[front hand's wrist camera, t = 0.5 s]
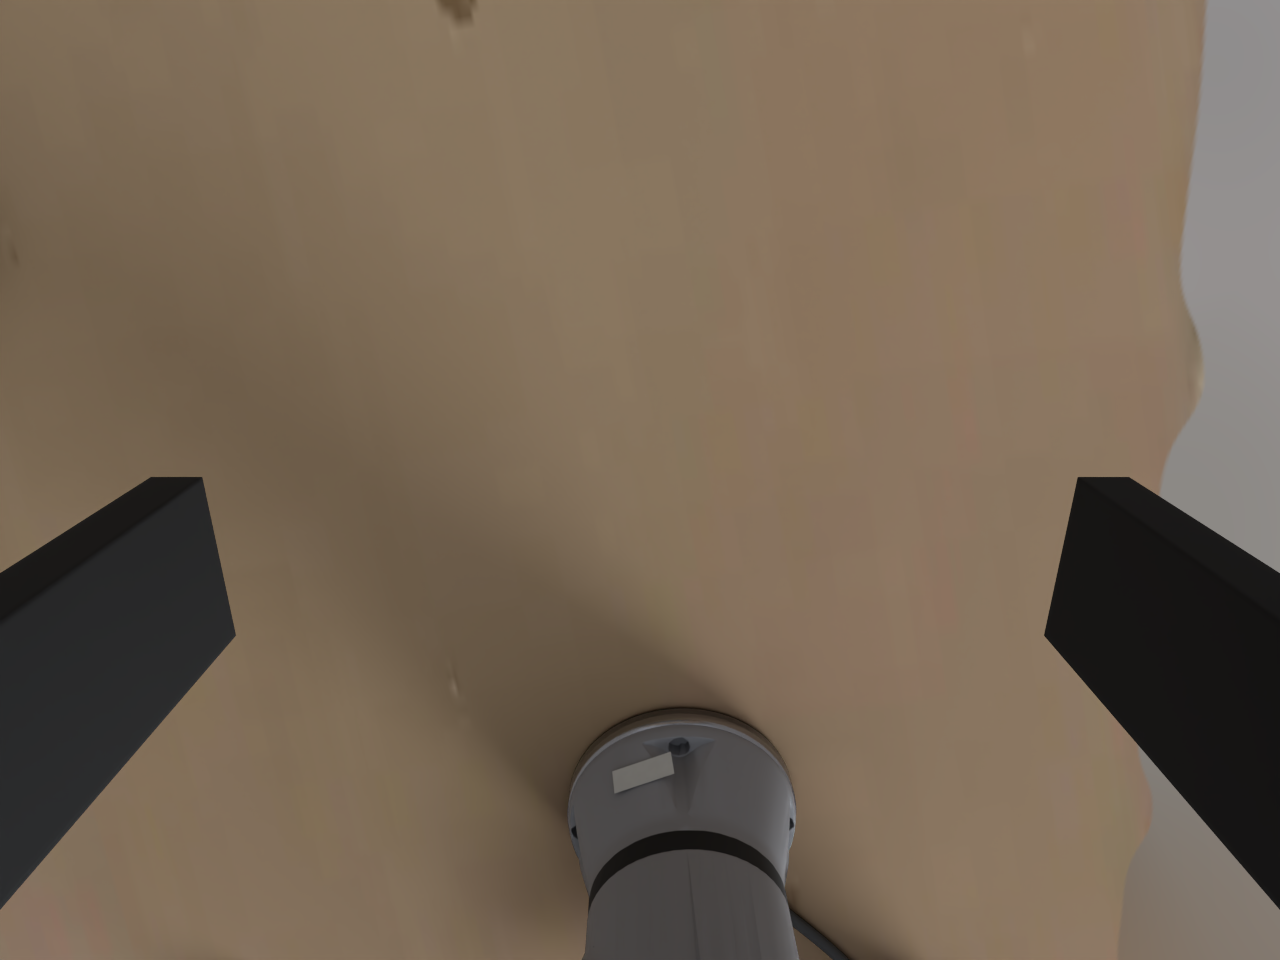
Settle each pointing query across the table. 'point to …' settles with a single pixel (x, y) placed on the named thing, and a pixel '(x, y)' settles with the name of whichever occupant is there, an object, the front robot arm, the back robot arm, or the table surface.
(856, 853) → the table surface
